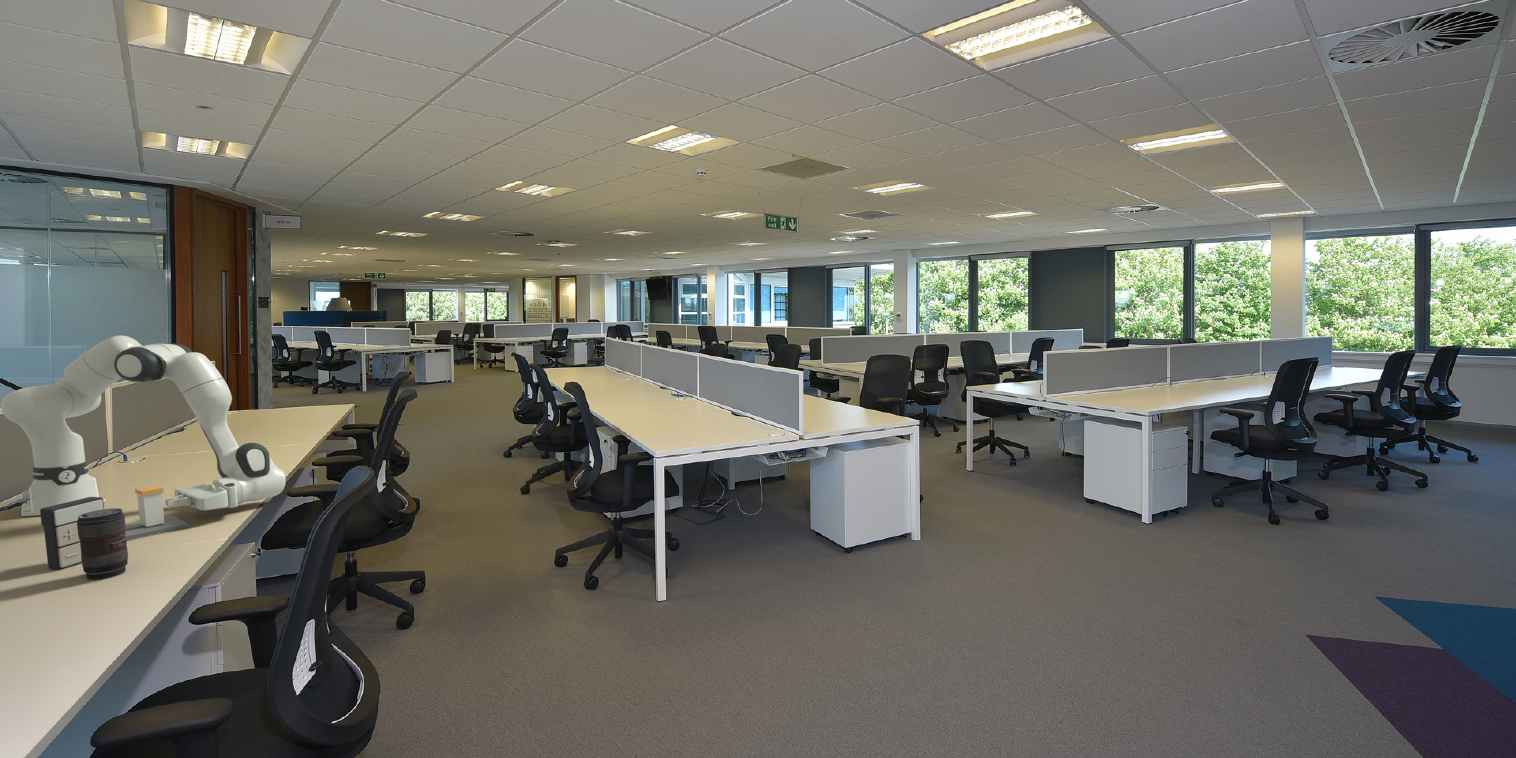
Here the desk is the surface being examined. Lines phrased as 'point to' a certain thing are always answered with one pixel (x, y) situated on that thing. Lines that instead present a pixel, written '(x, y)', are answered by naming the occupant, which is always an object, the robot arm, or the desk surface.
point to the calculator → (65, 530)
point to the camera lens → (103, 543)
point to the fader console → (153, 528)
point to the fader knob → (150, 505)
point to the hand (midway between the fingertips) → (166, 503)
